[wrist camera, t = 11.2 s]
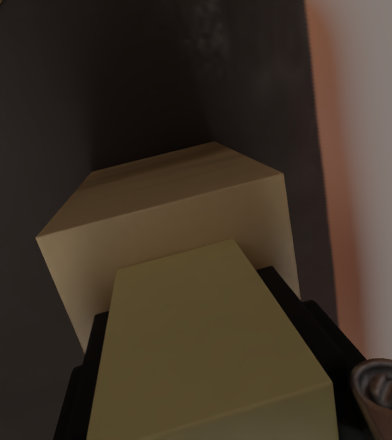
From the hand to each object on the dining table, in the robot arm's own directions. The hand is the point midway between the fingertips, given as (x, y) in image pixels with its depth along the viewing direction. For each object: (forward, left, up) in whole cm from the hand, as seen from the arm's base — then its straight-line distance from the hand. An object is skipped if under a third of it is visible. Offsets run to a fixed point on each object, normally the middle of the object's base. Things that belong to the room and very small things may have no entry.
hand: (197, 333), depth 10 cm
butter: (0, 0, 0) cm, 0 cm away
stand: (0, 0, -10) cm, 10 cm away
